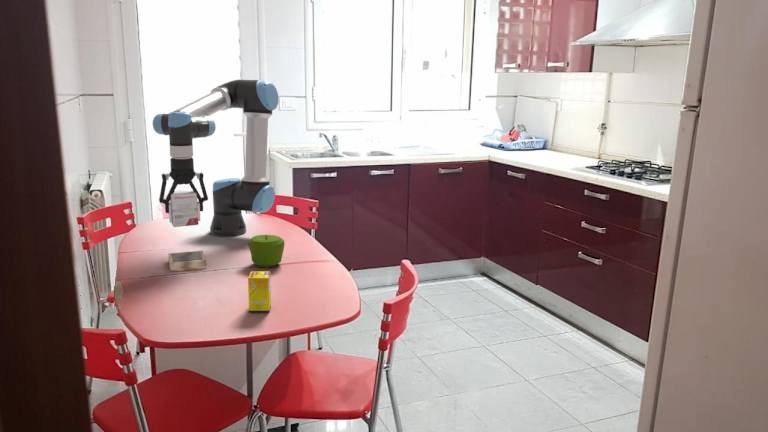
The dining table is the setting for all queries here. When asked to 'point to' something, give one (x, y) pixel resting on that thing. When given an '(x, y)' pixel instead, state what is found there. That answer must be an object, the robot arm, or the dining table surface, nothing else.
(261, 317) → the dining table surface
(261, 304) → the supplement box
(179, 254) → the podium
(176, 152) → the robot arm
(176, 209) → the ink box
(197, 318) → the dining table surface
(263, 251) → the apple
